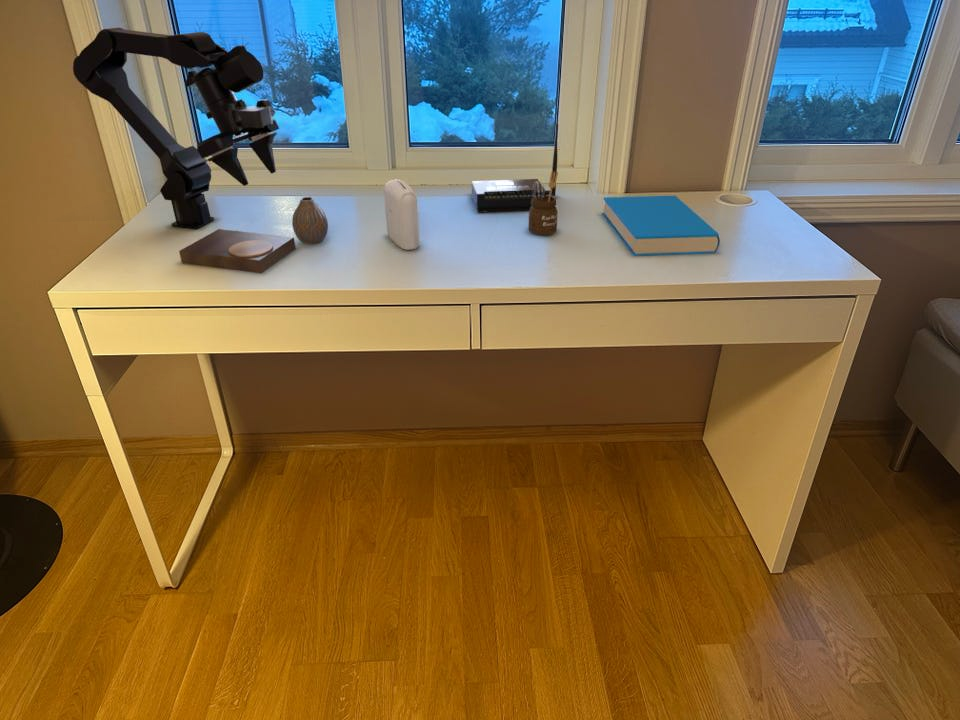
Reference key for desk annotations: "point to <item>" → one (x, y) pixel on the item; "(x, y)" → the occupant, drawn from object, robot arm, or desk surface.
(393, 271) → the desk surface
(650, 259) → the desk surface
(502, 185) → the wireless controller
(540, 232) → the utensil holder
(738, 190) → the desk surface
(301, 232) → the vase
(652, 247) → the book
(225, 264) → the riser board
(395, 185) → the photo printer
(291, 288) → the desk surface
